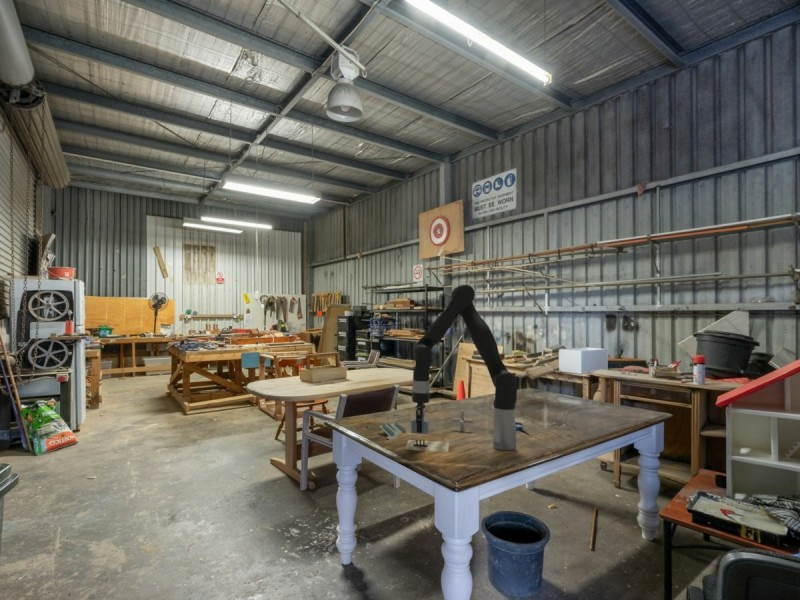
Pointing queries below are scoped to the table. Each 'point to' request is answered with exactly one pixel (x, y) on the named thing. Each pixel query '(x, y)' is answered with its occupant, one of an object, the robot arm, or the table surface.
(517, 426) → the bar clamp
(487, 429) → the table surface
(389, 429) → the metal bracket
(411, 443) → the board
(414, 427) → the block
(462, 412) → the grey cross-shaped piece
